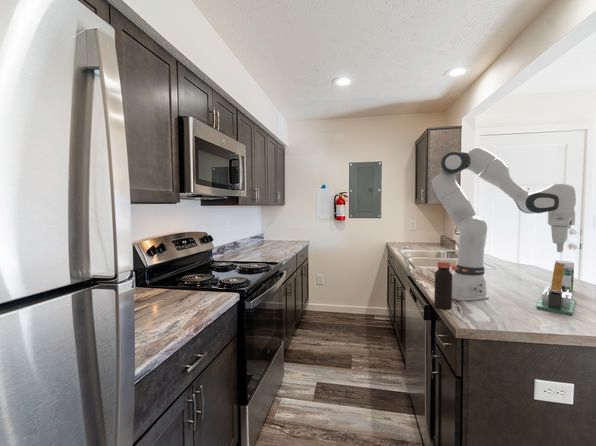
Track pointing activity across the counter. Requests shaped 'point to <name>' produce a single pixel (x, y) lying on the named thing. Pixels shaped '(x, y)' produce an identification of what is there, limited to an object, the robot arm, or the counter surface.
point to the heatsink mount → (557, 302)
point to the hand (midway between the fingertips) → (559, 251)
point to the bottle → (443, 286)
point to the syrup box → (567, 274)
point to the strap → (557, 279)
